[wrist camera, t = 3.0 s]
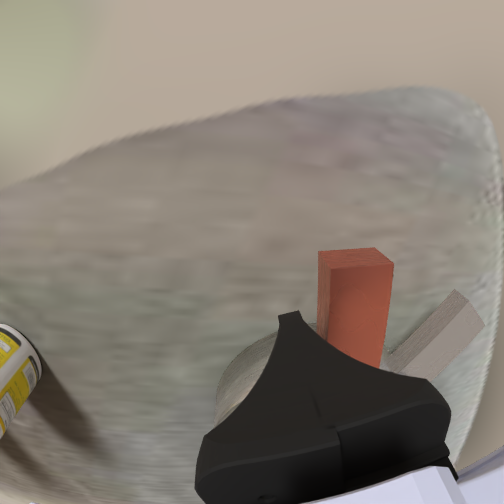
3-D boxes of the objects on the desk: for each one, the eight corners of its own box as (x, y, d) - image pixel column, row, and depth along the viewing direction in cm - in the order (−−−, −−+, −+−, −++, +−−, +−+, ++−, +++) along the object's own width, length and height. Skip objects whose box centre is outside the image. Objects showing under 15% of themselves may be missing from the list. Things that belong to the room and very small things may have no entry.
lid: (399, 487, 16) (406, 506, 15) (223, 513, 16) (222, 534, 15) (481, 238, 11) (508, 252, 9) (161, 259, 11) (147, 281, 9)
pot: (285, 480, 23) (291, 527, 18) (157, 421, 20) (143, 476, 15) (474, 330, 18) (513, 369, 14) (374, 207, 16) (423, 233, 11)
